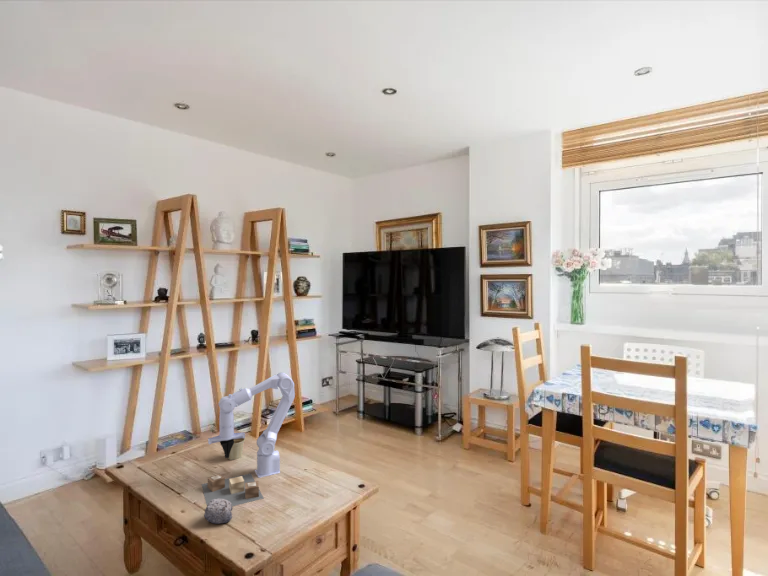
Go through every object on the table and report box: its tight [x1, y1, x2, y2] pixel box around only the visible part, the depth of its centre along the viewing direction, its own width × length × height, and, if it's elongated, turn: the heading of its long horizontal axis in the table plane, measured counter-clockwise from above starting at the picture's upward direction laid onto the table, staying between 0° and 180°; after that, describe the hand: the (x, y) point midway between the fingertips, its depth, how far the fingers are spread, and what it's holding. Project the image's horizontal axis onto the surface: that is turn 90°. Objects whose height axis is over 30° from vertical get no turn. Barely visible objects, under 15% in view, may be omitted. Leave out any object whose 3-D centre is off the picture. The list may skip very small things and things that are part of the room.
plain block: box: [229, 475, 244, 494], centre depth 170 cm, size 5×5×4 cm
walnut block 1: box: [207, 473, 226, 492], centre depth 172 cm, size 5×5×4 cm
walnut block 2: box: [245, 480, 260, 499], centre depth 166 cm, size 5×5×4 cm
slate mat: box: [200, 472, 264, 507], centre depth 169 cm, size 20×24×1 cm
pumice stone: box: [203, 499, 233, 525], centre depth 149 cm, size 10×8×10 cm
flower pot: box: [227, 437, 246, 461], centre depth 201 cm, size 9×9×9 cm
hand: (226, 457), depth 178 cm, fingers closed
